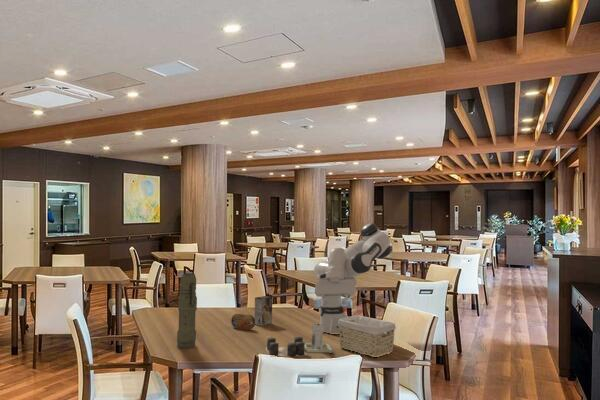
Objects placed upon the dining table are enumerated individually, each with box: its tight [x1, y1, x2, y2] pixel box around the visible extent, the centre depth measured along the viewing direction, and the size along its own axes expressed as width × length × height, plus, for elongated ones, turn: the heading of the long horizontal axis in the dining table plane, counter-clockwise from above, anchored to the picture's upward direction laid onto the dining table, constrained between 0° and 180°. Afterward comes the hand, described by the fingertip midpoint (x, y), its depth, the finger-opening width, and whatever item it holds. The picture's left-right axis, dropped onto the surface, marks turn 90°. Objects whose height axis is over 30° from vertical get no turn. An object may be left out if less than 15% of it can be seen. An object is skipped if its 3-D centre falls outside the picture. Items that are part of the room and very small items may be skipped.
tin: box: [231, 313, 256, 331], centre depth 267 cm, size 15×3×8 cm, turn 62°
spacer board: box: [265, 336, 308, 357], centre depth 217 cm, size 18×16×6 cm
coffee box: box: [254, 295, 273, 327], centre depth 280 cm, size 9×6×16 cm
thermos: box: [176, 272, 198, 349], centre depth 228 cm, size 9×12×35 cm
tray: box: [304, 342, 333, 354], centre depth 224 cm, size 12×12×2 cm
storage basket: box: [338, 315, 397, 356], centre depth 225 cm, size 24×16×15 cm
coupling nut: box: [311, 323, 324, 350], centre depth 223 cm, size 5×4×12 cm
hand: (334, 303), depth 227 cm, fingers open, 8 cm apart
